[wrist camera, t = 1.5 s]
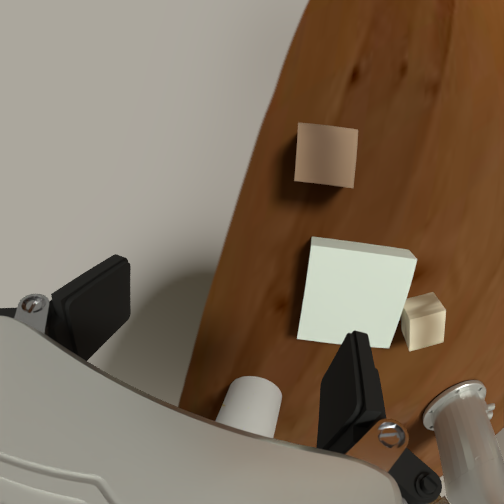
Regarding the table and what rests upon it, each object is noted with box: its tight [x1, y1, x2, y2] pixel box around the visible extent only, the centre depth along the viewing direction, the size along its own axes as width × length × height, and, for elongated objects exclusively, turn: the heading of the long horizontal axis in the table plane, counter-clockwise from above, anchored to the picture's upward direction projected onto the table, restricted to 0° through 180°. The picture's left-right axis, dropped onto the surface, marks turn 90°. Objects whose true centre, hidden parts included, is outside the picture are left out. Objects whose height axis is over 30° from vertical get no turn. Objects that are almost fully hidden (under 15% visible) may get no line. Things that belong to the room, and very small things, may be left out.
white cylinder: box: [216, 376, 282, 438], centre depth 33 cm, size 8×8×12 cm
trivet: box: [297, 237, 417, 348], centre depth 28 cm, size 11×11×3 cm
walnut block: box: [294, 123, 358, 188], centre depth 24 cm, size 5×5×5 cm
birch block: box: [401, 292, 446, 351], centre depth 27 cm, size 4×4×4 cm
